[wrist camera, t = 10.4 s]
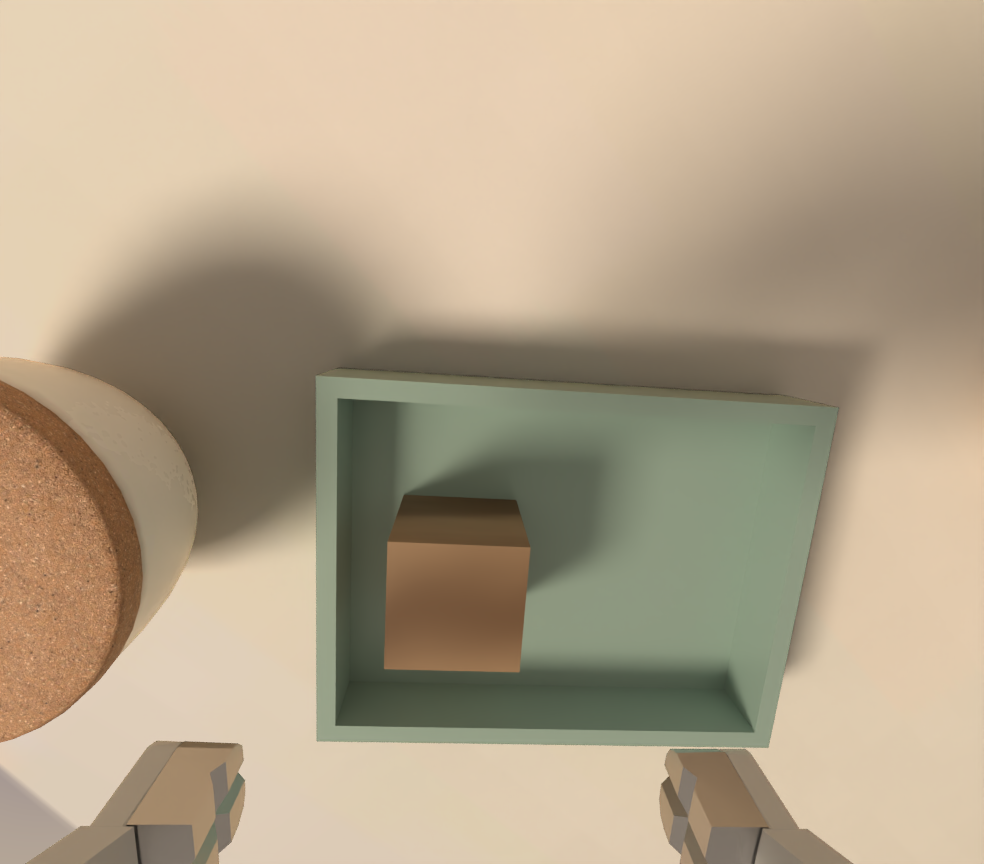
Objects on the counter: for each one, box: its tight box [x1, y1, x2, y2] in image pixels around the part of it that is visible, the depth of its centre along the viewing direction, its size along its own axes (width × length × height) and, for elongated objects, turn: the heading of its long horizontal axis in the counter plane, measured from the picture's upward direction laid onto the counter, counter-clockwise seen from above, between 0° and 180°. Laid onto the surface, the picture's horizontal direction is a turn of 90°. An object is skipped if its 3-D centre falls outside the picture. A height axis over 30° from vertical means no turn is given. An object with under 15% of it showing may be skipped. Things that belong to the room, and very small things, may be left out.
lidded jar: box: [0, 357, 198, 742], centre depth 16 cm, size 11×11×9 cm
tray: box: [316, 368, 839, 748], centre depth 20 cm, size 14×18×3 cm
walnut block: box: [384, 495, 531, 672], centre depth 19 cm, size 4×4×4 cm
